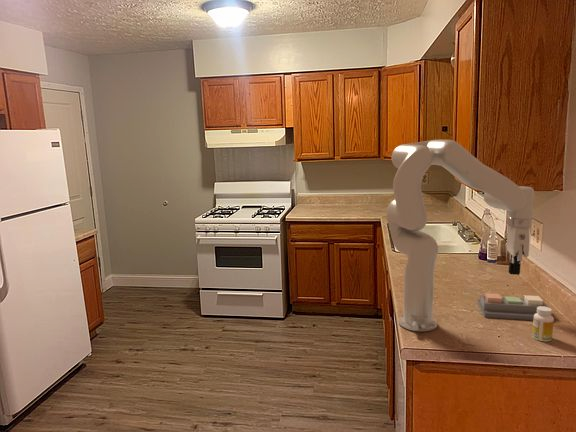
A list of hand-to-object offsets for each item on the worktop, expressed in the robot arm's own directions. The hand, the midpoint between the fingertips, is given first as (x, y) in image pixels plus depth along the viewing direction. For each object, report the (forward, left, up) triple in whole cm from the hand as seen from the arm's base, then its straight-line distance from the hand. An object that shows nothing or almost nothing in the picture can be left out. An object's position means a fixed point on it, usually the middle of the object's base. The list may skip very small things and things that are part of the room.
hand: (514, 273), depth 154 cm
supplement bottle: (-20, -4, -15) cm, 25 cm away
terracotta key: (0, +6, -12) cm, 13 cm away
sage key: (0, 0, -13) cm, 13 cm away
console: (0, 0, -14) cm, 14 cm away
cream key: (0, -7, -12) cm, 14 cm away
